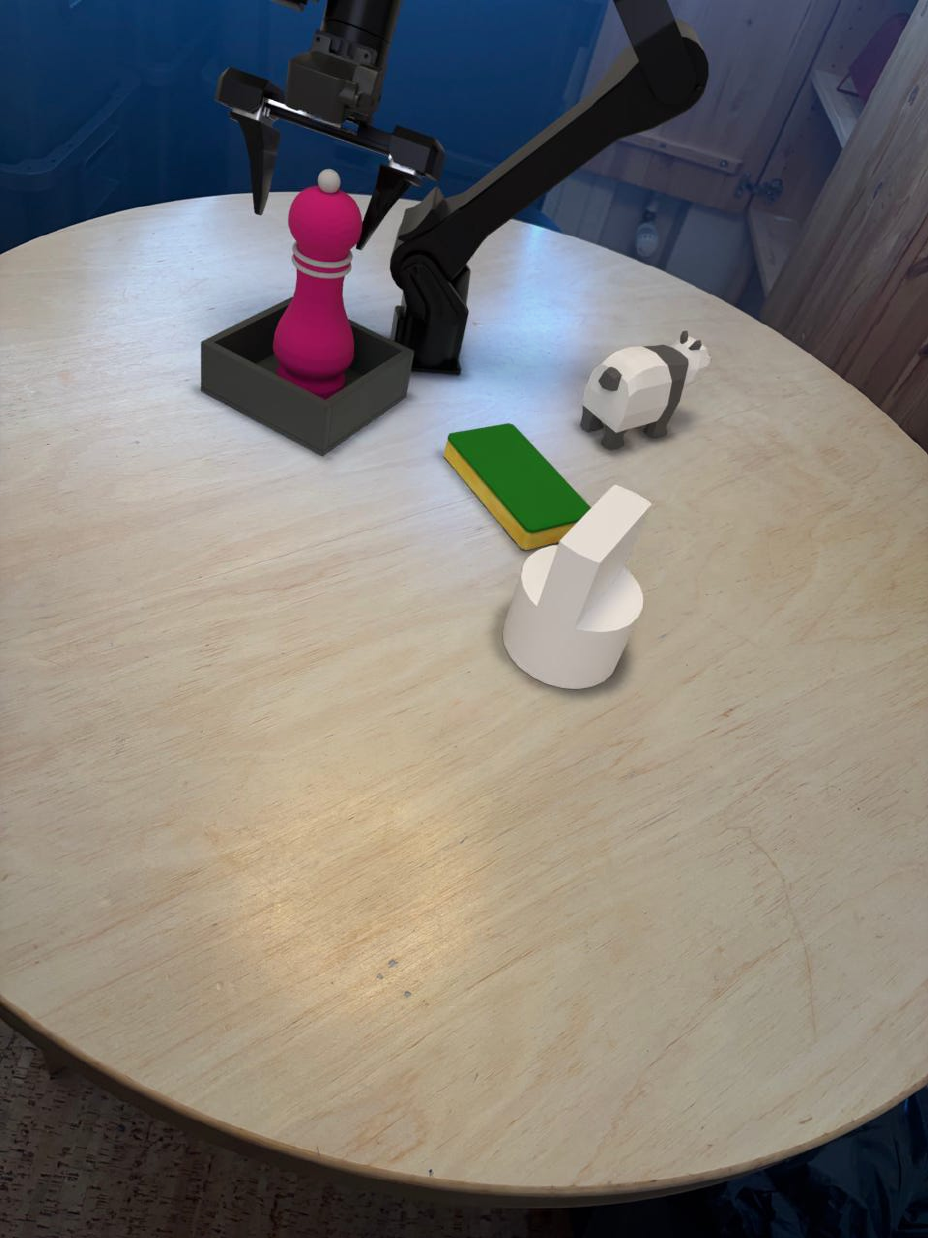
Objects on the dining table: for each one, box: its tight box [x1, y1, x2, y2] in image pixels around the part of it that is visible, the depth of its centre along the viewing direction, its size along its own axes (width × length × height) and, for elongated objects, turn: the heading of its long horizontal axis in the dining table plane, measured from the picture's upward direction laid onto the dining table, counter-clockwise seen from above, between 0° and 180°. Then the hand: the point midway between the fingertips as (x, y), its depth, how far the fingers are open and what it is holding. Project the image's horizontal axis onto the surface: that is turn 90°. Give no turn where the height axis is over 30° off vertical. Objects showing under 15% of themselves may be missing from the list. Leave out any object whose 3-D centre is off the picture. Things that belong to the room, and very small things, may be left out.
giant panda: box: [579, 330, 713, 451], centre depth 93 cm, size 15×6×10 cm, turn 126°
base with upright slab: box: [502, 484, 652, 690], centre depth 68 cm, size 9×9×12 cm
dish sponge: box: [443, 422, 592, 551], centre depth 83 cm, size 7×14×2 cm, turn 31°
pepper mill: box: [273, 168, 363, 400], centre depth 82 cm, size 7×7×20 cm
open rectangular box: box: [200, 296, 414, 457], centre depth 87 cm, size 14×14×5 cm
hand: (308, 231), depth 82 cm, fingers open, 9 cm apart
